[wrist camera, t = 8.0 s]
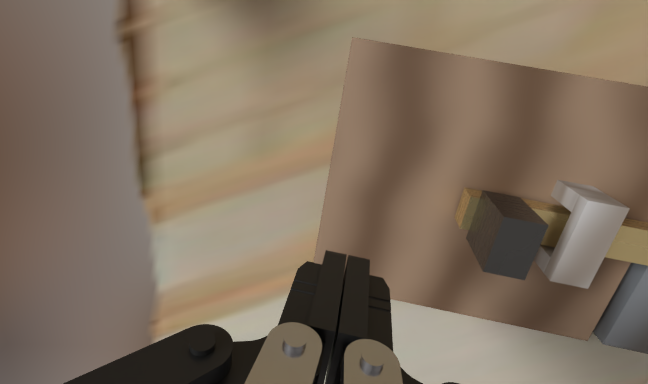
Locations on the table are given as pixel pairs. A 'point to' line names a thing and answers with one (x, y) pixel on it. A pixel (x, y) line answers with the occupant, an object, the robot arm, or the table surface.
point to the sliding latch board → (490, 185)
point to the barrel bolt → (529, 232)
